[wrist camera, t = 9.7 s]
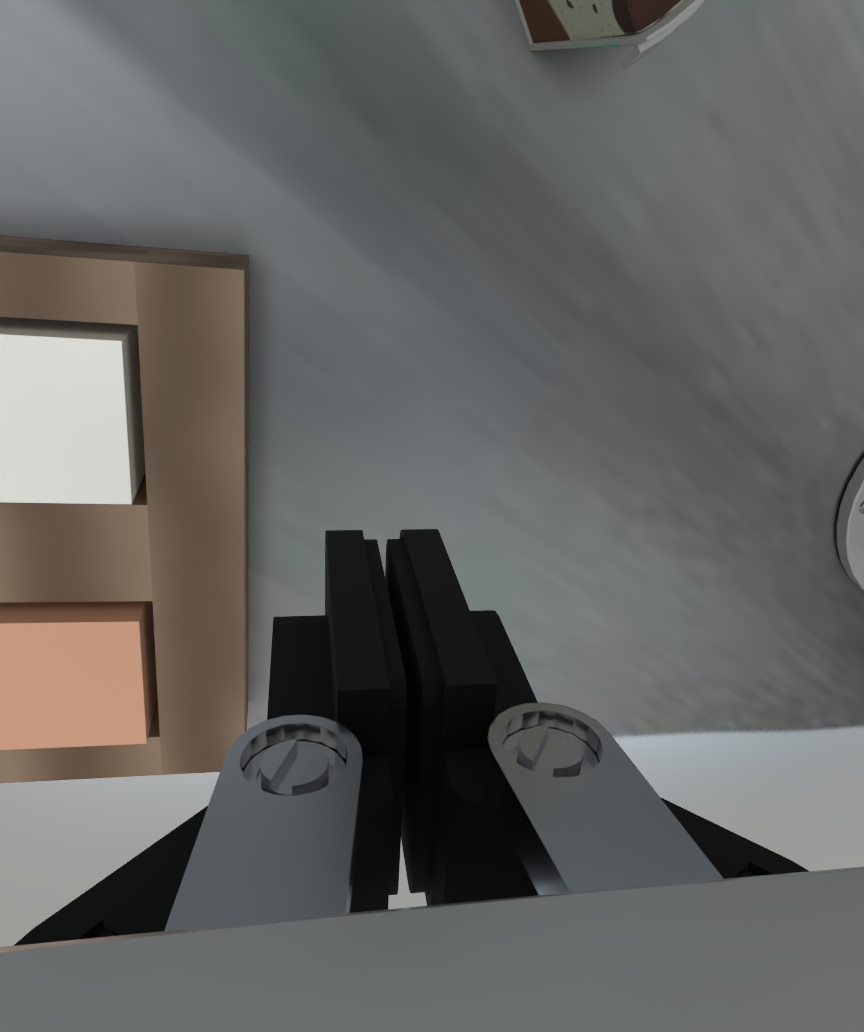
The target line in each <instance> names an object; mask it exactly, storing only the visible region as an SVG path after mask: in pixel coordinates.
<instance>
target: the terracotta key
mask: <svg viewBox="0 0 864 1032" xmlns="http://www.w3.org/2000/svg"><path fill="white" fill-rule="evenodd" d="M157 695H158V693H157V675H156V656H155V638H154V619H153V601H117V602H4V603H0V750H15V749H37V748H60V747H83V746H105V745H128V744H147V740H148V736H149V731H150V727H151V722H152V718H153V713H154V709H155V704H156V700H157Z"/></svg>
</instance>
